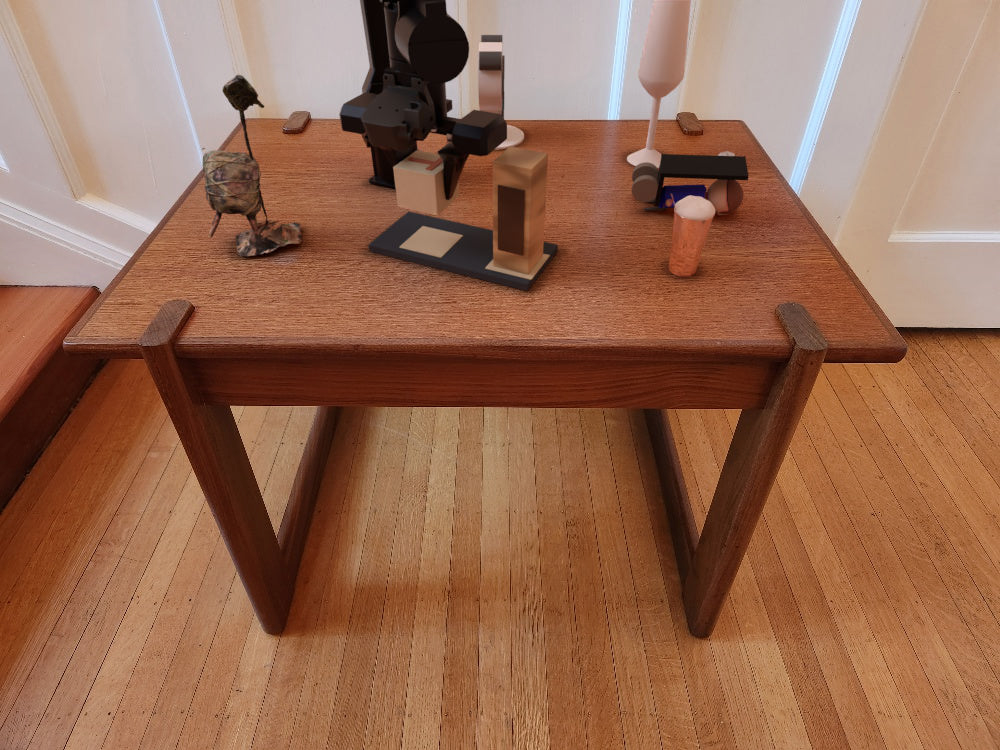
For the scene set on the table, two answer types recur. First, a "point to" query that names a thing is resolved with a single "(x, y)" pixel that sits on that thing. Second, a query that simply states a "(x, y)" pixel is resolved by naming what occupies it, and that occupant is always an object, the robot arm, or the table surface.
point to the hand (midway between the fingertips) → (427, 194)
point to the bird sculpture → (243, 185)
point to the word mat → (453, 249)
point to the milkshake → (689, 233)
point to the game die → (726, 154)
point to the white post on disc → (494, 84)
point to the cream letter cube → (422, 183)
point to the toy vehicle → (720, 193)
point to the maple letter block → (519, 208)
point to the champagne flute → (662, 64)
